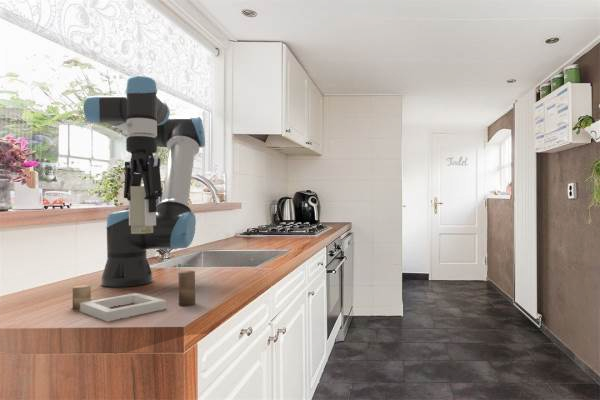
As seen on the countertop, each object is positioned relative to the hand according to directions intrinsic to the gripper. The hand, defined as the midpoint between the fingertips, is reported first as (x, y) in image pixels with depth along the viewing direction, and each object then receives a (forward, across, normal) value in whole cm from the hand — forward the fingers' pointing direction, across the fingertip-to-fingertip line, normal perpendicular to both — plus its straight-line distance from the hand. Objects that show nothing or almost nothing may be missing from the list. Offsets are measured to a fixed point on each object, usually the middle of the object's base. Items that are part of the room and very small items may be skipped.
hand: (142, 225), depth 112 cm
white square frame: (+20, +5, -8) cm, 22 cm away
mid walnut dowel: (+20, +12, +5) cm, 24 cm away
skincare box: (+2, 0, 0) cm, 2 cm away
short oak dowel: (+20, -6, -13) cm, 24 cm away
